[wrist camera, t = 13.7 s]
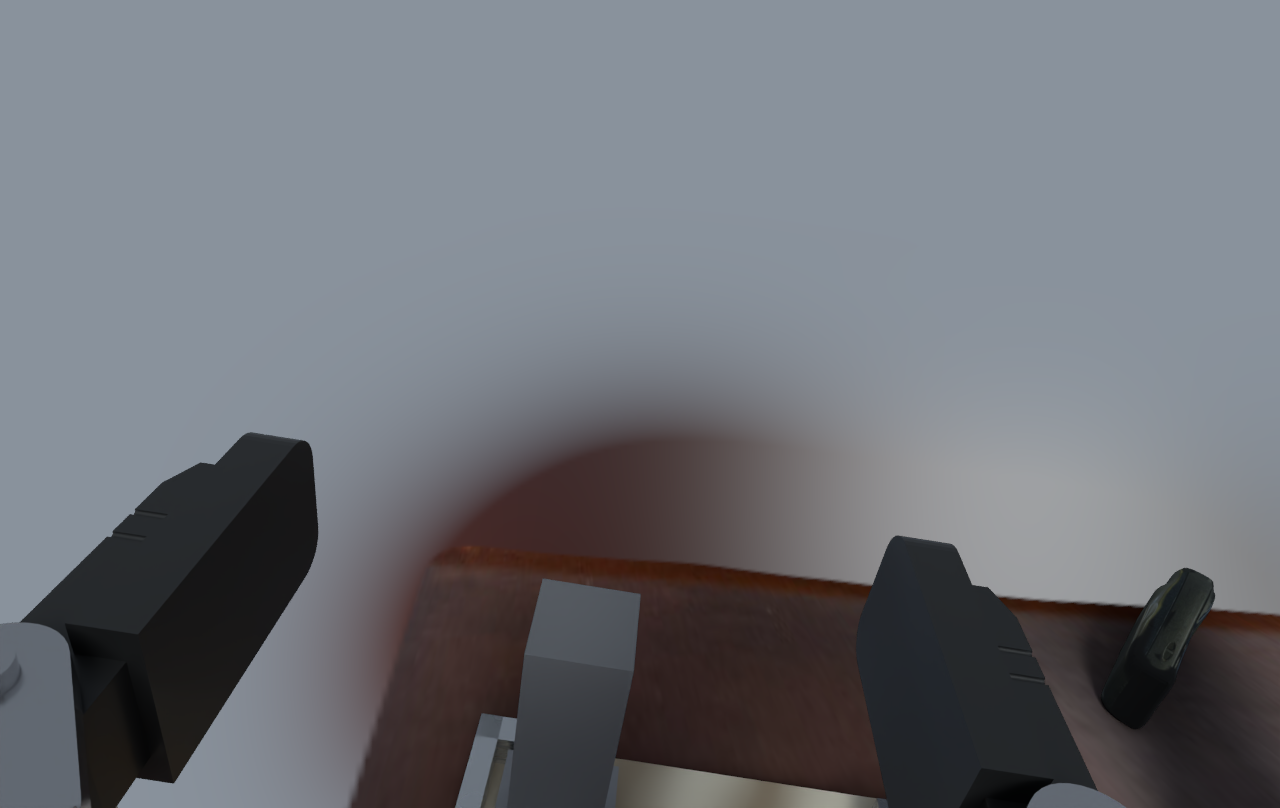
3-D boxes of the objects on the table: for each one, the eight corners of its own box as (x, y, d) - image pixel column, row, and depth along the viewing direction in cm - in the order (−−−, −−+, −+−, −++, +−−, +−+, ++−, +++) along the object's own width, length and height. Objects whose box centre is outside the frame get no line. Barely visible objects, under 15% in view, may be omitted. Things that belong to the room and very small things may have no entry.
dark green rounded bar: (1184, 686, 43) (1230, 564, 54) (1126, 653, 45) (1181, 540, 55) (1142, 744, 46) (1193, 616, 56) (1088, 710, 48) (1148, 592, 58)
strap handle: (873, 823, 37) (977, 614, 30) (908, 996, 31) (1047, 782, 24) (506, 766, 36) (530, 543, 30) (468, 930, 30) (488, 695, 24)
